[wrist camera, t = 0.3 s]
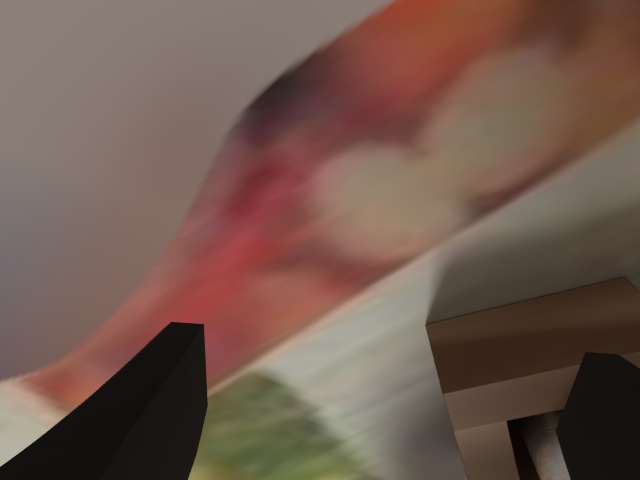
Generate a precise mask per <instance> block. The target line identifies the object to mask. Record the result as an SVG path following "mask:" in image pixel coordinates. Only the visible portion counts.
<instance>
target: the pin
mask: <svg viewBox="0 0 640 480" xmlns="http://www.w3.org/2000/svg"><path fill="white" fill-rule="evenodd" d="M562 412H563V409H562V410H557V411H552V412H547V413H542V414H537V415H532V416H527V417H522V418H517V419H516V421H517V423H518V426H519V428H520V431H521V433H522V436H523V438H524V441H525V443H526V446H527V448H528V451H529V453H530V456H531V458H532V460H533V463H534V465H535V468H536V470H537V473H538V475H539V478H540V480H571V479H570V476H569V473H568V470H567V467H566V464H565V461H564V458H563V454H562V451H561V448H560V444H559V441H558V437H557V434H556V428H557V425H558V423H559V420H560V417H561V415H562Z"/></svg>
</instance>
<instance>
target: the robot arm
mask: <svg viewBox="0 0 640 480" xmlns="http://www.w3.org/2000/svg"><path fill="white" fill-rule="evenodd" d="M207 406H208V402H207V381H206V360H205V340H204V324H192V323H179V322H171V323H170V324H169V325H167V326H166V327H165V328H164V329H163V330H162V331H161V332H160V333H159V334H158V335H156V336H155V337H154V338H153V339H152V340H151V341H150V342H149V343H148V344H147V345H146V346H145V347H144V348H143V349H142V350H141V351H140V352H139V353H137V354H136V355H135V356H134V357H133V358H132V359H131V360H130V361H129V362H128V363H127V364H126V365H125V366H124V367H122V368H121V369H120V370H119V371H118V372H117V373H116V374H115V375H114V376H112V377H111V378H110V379H109V380H108V381H107V382H106V383H105V384H103V385H102V386H101V387H100V388H99V389H98V390H97V391H96V392H94V393H93V394H92V395H91V396H90V397H89V398H88V399H86V400H85V401H84V402H83V403H82V404H81V405H79V406H78V407H77V408H76V409H74V410H73V411H72V412H71V413H69V414H68V415H67V416H66V417H65V418H63V419H62V420H61V421H60V422H58V423H57V424H56V425H55V426H53V427H52V428H51V429H50V430H49V431H47V432H46V433H45V434H44V435H42V436H41V437H40V438H39V439H37V440H36V441H35V442H33V443H32V444H31V445H29V446H28V447H27V448H25V449H24V450H23V451H21V452H20V453H19V454H17V455H16V456H15V457H13V458H12V459H11V460H9V461H8V462H6V463H5V464H4V465H2V466H1V467H0V480H188V477H189V475H190V472H191V469H192V466H193V463H194V460H195V457H196V454H197V449H198V445H199V441H200V437H201V433H202V428H203V424H204V420H205V415H206V411H207ZM556 434H557V437H558V441H559V444H560V448H561V451H562V454H563V458H564V461H565V464H566V467H567V470H568V473H569V476H570V479H571V480H640V368H638V367H637V366H635V365H634V364H632V363H631V362H629V361H628V360H626V359H625V358H623V357H622V356H620V355H618V354H608V353H594V352H585V354H584V357H583V360H582V362H581V365H580V367H579V370H578V373H577V375H576V378H575V381H574V383H573V386H572V388H571V391H570V394H569V396H568V399H567V402H566V404H565V407H564V409H563V412H562V415H561V417H560V420H559V423H558V425H557V428H556Z"/></svg>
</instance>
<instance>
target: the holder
mask: <svg viewBox="0 0 640 480" xmlns="http://www.w3.org/2000/svg"><path fill="white" fill-rule="evenodd" d="M425 326H426V330H427V334H428V338H429V342H430V345H431V349H432V353H433V357H434V361H435V365H436V369H437V373H438V377H439V381H440V385H441V389H442V393H443V397H444V400H445V404H446V407H447V410H448V414H449V417H450V421H451V424H452V427H453V431H454V434H455V437H456V441H457V444H458V448H459V451H460V454H461V458H462V461H463V465H464V468H465V471H466V475H467V478H468V480H540V478H539V475H538V473H537V470H536V468H535V465H534V463H533V460H532V458H531V456H530V453H529V451H528V448H527V446H526V443H525V441H524V438H523V436H522V433H521V431H520V428H519V426H518V423H517V421H516V419H517V418H522V417H527V416H532V415H537V414H542V413H547V412H552V411H557V410H562V409H564V407H565V404H566V402H567V399H568V396H569V394H570V391H571V388H572V386H573V383H574V381H575V378H576V375H577V373H578V370H579V367H580V365H581V362H582V360H583V357H584V354H585V352H594V353H608V354H618V355H620V356H622V357H623V358H625V359H626V360H628V361H629V362H631V363H632V364H634V365H635V366H637V367H638V368H640V291H639V290H638V289H637V288H636V287H635V286H634V285H633V284H632V283H631V282H630V281H629V280H628V279H627V278H626V277H622V278H617V279H613V280H609V281H605V282H601V283H597V284H593V285H588V286H584V287H580V288H576V289H572V290H568V291H564V292H560V293H555V294H551V295H547V296H543V297H539V298H535V299H531V300H526V301H522V302H518V303H514V304H510V305H506V306H502V307H497V308H493V309H489V310H485V311H481V312H477V313H473V314H468V315H464V316H460V317H456V318H452V319H448V320H444V321H440V322H435V323H431V324H427V325H425Z"/></svg>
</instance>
